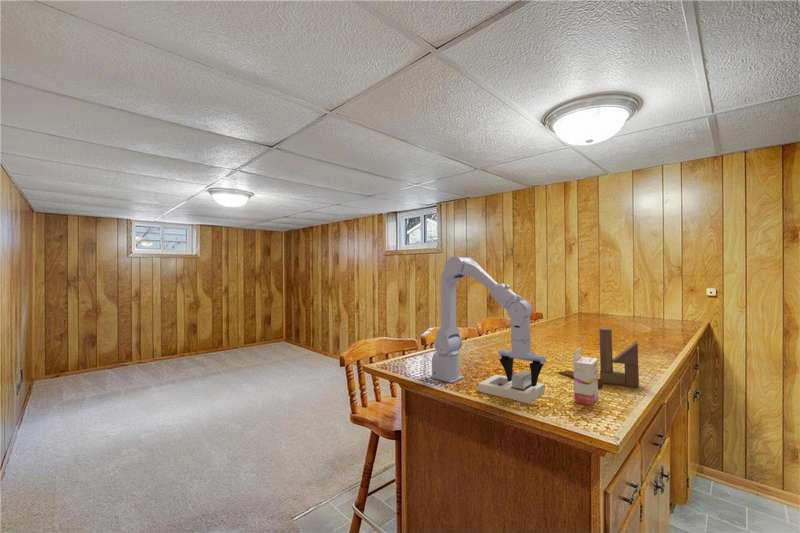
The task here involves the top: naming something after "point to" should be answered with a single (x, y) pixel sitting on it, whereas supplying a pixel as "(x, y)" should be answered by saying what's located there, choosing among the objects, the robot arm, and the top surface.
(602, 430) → the top surface
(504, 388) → the light grey flat piece
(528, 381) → the tall grey block
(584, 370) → the ink cartridge box
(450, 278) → the robot arm
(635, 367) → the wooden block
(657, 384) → the top surface
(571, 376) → the primitive tool
